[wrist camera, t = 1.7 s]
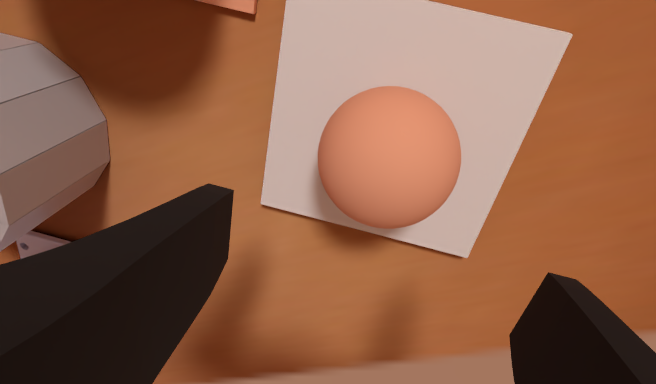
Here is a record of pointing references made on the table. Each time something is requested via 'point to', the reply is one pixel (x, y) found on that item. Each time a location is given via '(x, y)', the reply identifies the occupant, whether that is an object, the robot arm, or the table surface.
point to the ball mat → (414, 73)
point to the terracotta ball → (389, 157)
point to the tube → (235, 4)
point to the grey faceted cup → (44, 137)
